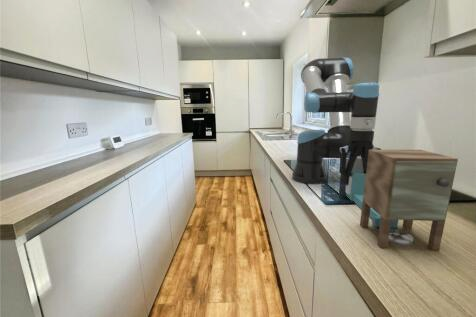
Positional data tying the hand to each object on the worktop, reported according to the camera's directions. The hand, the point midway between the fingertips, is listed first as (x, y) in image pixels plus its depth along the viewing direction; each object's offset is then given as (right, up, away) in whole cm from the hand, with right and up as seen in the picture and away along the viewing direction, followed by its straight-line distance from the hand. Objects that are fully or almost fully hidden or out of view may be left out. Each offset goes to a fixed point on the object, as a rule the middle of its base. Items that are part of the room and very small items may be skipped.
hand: (355, 193), depth 82 cm
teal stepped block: (-1, -4, -9) cm, 10 cm away
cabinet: (-2, -7, -24) cm, 25 cm away
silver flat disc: (-2, -8, -25) cm, 26 cm away
